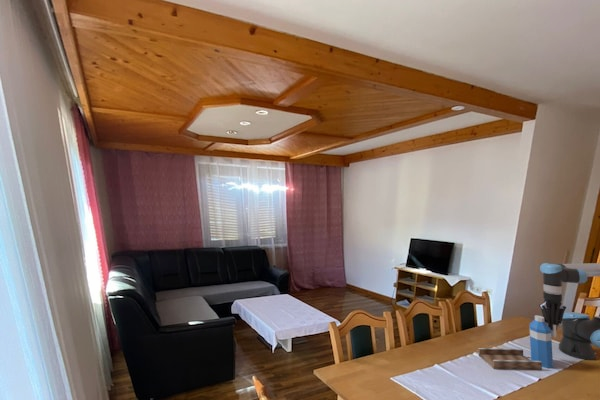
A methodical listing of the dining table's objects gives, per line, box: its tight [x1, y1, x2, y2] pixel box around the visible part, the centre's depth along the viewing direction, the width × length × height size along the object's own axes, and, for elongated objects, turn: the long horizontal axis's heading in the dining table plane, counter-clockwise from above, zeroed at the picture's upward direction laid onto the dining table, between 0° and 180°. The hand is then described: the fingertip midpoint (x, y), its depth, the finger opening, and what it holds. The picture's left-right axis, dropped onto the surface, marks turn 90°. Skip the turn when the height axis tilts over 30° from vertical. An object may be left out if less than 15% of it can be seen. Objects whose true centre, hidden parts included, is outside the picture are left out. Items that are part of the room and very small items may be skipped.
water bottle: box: [528, 314, 554, 369], centre depth 151 cm, size 9×9×25 cm
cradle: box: [478, 347, 543, 371], centre depth 151 cm, size 24×13×4 cm, turn 89°
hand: (552, 336), depth 151 cm, fingers closed
